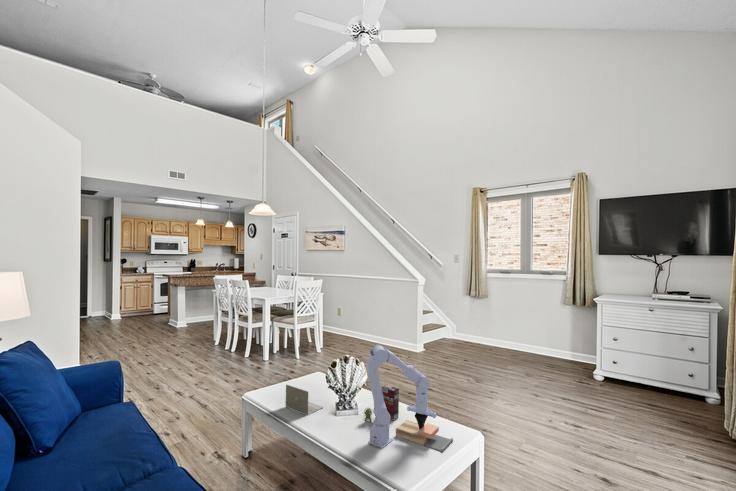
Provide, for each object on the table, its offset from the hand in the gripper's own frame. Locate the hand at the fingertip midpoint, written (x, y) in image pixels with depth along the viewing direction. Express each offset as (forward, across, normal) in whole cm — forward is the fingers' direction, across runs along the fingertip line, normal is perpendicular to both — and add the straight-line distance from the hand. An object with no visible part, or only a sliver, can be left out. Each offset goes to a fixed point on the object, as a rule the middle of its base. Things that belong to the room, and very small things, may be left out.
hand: (421, 429), depth 177 cm
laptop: (+5, +70, +8) cm, 70 cm away
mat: (+4, -9, 0) cm, 10 cm away
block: (+1, -4, 0) cm, 4 cm away
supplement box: (+4, +24, -10) cm, 26 cm away
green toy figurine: (+4, +30, +2) cm, 30 cm away
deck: (+4, +3, 0) cm, 5 cm away
